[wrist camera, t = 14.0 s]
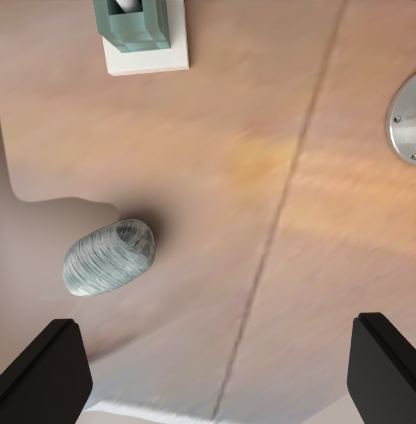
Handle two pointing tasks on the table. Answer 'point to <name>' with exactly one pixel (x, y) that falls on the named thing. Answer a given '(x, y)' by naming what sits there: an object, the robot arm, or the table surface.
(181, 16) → the white peg stand
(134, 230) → the spool
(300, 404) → the table surface
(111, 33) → the bead
